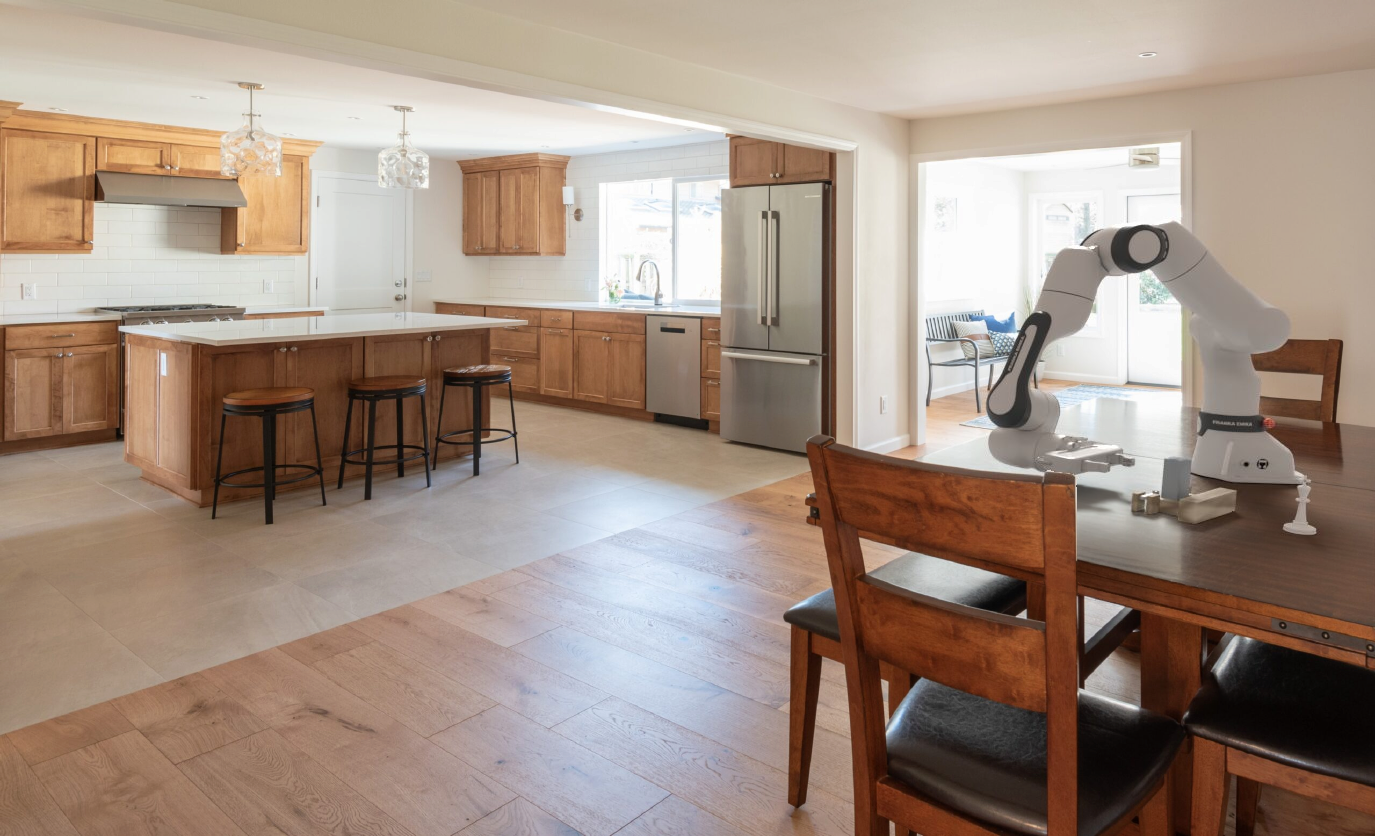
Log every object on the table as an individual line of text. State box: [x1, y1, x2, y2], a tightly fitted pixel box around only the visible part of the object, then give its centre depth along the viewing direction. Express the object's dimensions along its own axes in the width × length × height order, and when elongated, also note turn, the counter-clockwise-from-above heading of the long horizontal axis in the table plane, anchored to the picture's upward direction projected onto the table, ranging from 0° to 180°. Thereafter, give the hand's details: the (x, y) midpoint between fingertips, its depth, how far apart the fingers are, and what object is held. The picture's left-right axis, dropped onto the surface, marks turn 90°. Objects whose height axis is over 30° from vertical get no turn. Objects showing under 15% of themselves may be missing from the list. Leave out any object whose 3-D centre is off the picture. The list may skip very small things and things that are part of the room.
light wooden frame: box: [1130, 485, 1238, 525], centre depth 170 cm, size 12×16×4 cm
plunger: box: [1140, 490, 1160, 501], centre depth 170 cm, size 1×6×1 cm, turn 125°
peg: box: [1160, 455, 1192, 501], centre depth 170 cm, size 4×4×10 cm
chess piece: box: [1282, 475, 1317, 536], centre depth 155 cm, size 5×5×10 cm
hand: (1121, 465), depth 179 cm, fingers open, 8 cm apart
